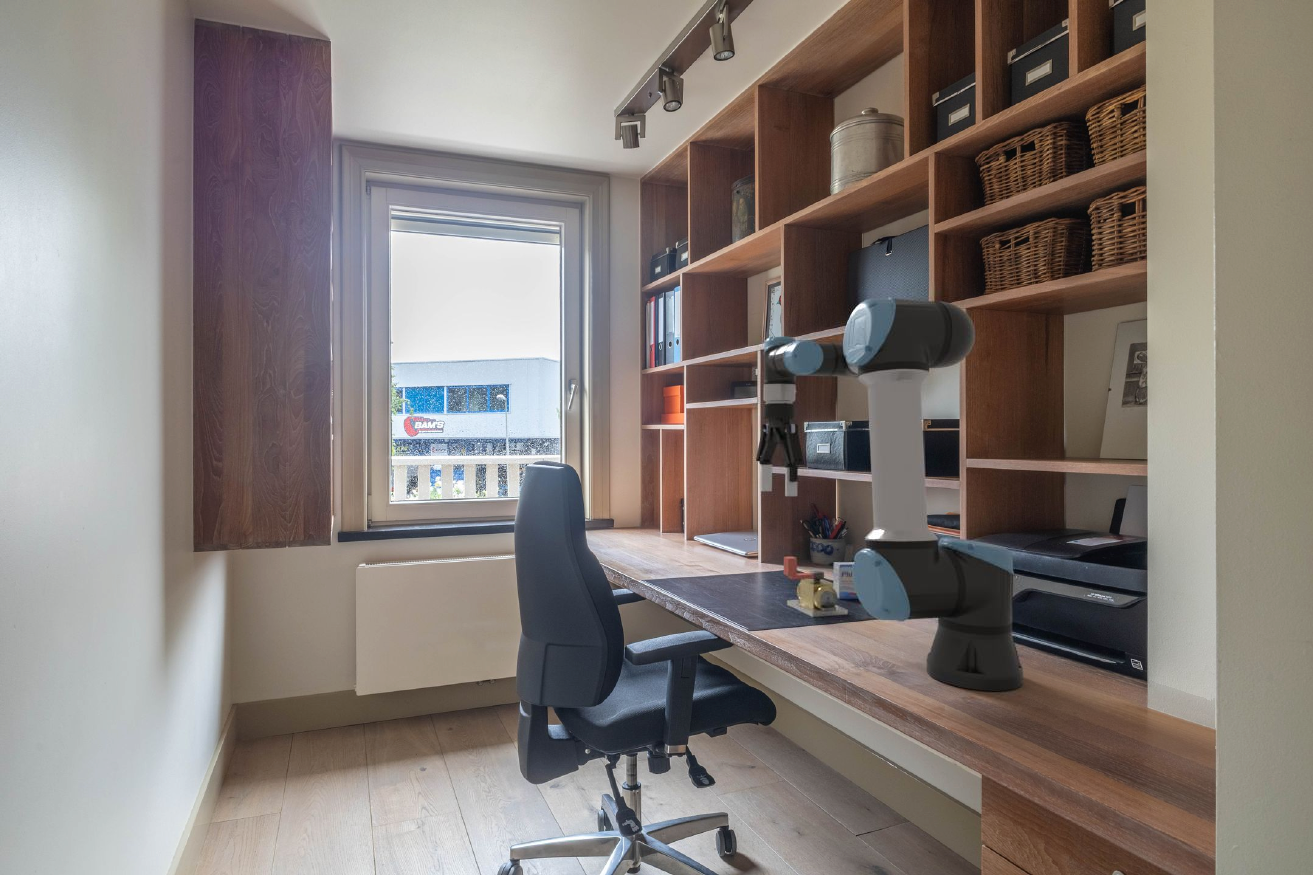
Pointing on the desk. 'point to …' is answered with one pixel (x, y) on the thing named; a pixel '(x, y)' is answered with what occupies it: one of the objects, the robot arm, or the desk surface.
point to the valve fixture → (817, 598)
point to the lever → (791, 572)
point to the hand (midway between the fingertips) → (778, 493)
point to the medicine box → (844, 580)
